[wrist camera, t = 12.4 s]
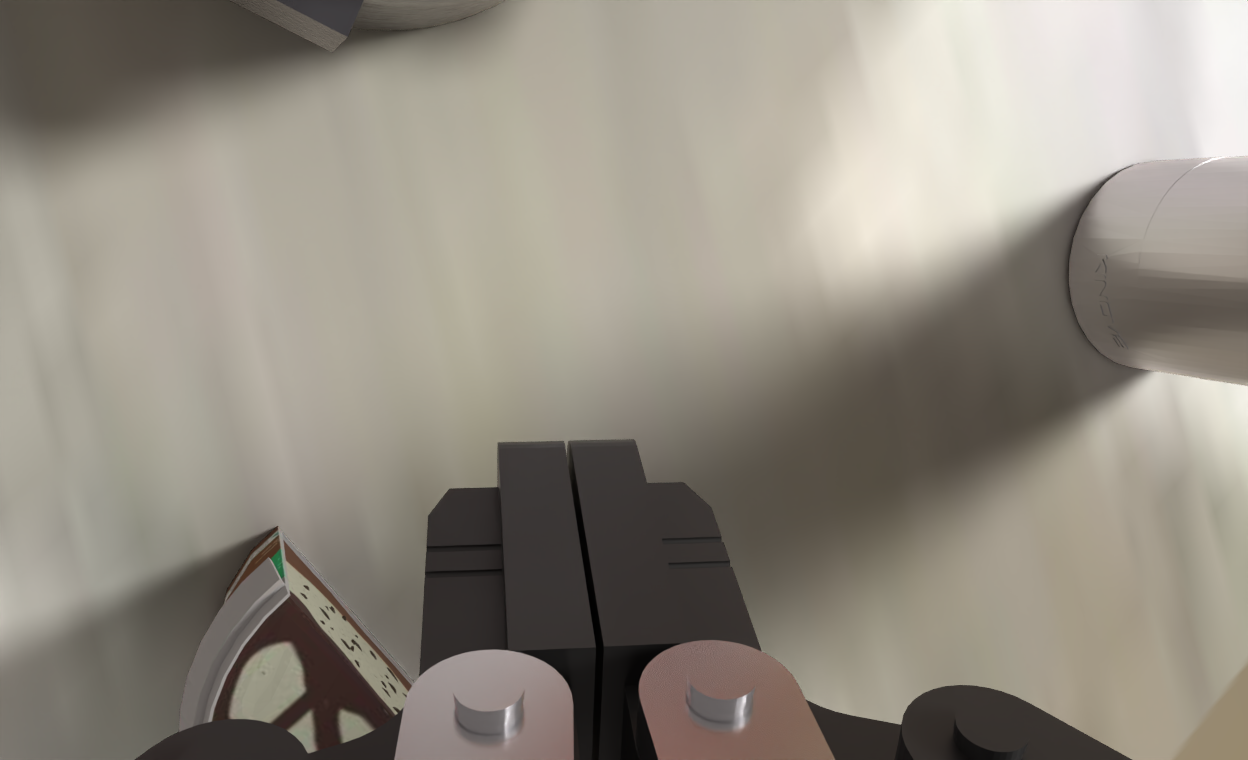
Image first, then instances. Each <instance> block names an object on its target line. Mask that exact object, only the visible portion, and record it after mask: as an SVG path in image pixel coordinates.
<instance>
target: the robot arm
mask: <svg viewBox="0 0 1248 760" xmlns="http://www.w3.org/2000/svg"><path fill="white" fill-rule="evenodd" d="M1069 287H1070V294H1071V300H1072V305H1073V308H1074V311H1075V314H1076V317H1077V320H1078V323H1079V325H1080V327H1081V328H1082V330H1083V332H1084V333H1085V335H1086V337H1087V339H1088V340H1089V341H1090V342H1091V343H1092V345H1093V346H1094V347H1095V348H1096V349H1097V350H1098V351H1099V352H1100V353H1101V354H1103V355H1104V356H1106V357H1107V358H1109V359H1110V360H1112V361H1114V362H1115V363H1118V364H1121V365H1125V366H1128V367H1131V368H1138V369H1144V370H1151V371H1157V372H1164V373H1170V374H1176V375H1183V376H1189V377H1196V378H1200V379H1206V380H1213V381H1219V382H1226V383H1232V384H1239V385H1245V386H1248V156H1237V157H1212V158H1195V159H1178V160H1160V161H1150V162H1144V163H1138V164H1135V165H1133V166H1131V167H1129V168H1126V169H1124V170H1122V171H1120V172H1119V173H1118V174H1116V175H1115V176H1114V177H1112V178H1111V179H1110V180H1108V181H1107V182H1106V183H1105V184H1104V185H1103V186H1102V187H1101V189H1100V190H1099V191H1098V192H1097V193H1096V194H1095V195H1094V197H1093V198H1092V199H1091V201H1090V203H1089V205H1088V206H1087V208H1086V210H1085V211H1084V213H1083V215H1082V217H1081V219H1080V222H1079V225H1078V227H1077V230H1076V233H1075V235H1074V238H1073V244H1072V249H1071V254H1070V259H1069ZM497 469H498V487H495V488H456V489H449V490H448V491H447V493H446V494H445V495H444V496H443V498H442V499H441V500H440V501H439V503H438V504H437V505H436V507H435V508H434V509H433V510H432V512H431V513H430V514H429V515H428V530H427V552H426V567H425V585H424V604H423V622H422V640H421V659H420V674H419V678H418V679H417V680H416V681H415V682H414V684H413V685H412V687H411V688H410V690H409V692H408V694H407V697H406V700H405V703H404V707H403V708H402V709H401V710H400V712H399V713H398V714H396V715H395V716H394V717H393V718H391V719H390V720H389V721H388V722H386V723H385V724H383V725H382V726H380V727H378V728H377V729H375V730H374V731H371V732H369V733H367V734H365V735H363V736H361V737H359V738H356V739H353V740H350V741H347V742H345V743H341V744H338V745H335V746H331V747H328V748H325V749H321V750H318V751H315V752H311V753H307V751H306V749H305V747H304V746H303V744H302V743H301V742H300V741H299V740H298V739H297V738H296V737H295V736H294V735H293V734H291V733H290V732H288V731H287V730H285V729H283V728H281V727H279V726H276V725H274V724H271V723H267V722H263V721H259V720H250V719H226V720H219V721H212V722H208V723H204V724H200V725H196V726H193V727H190V728H188V729H185V730H182V731H180V732H178V733H176V734H174V735H172V736H170V737H168V738H166V739H164V740H163V741H161V742H160V743H158V744H156V745H155V746H153V747H152V748H150V749H149V750H148V751H146V752H145V753H143V754H142V755H141V756H139V757H138V758H137V759H135V760H1132V759H1130V758H1128V757H1126V756H1124V755H1122V754H1121V753H1119V752H1117V751H1115V750H1113V749H1112V748H1110V747H1108V746H1106V745H1104V744H1102V743H1101V742H1099V741H1097V740H1095V739H1093V738H1092V737H1090V736H1088V735H1086V734H1084V733H1083V732H1081V731H1079V730H1077V729H1075V728H1073V727H1072V726H1070V725H1068V724H1066V723H1064V722H1063V721H1061V720H1059V719H1057V718H1055V717H1053V716H1052V715H1050V714H1048V713H1046V712H1044V711H1043V710H1041V709H1039V708H1037V707H1035V706H1033V705H1032V704H1030V703H1028V702H1026V701H1024V700H1022V699H1020V698H1018V697H1015V696H1013V695H1010V694H1007V693H1004V692H1002V691H998V690H994V689H990V688H985V687H979V686H969V685H955V686H945V687H941V688H937V689H933V690H931V691H928V692H926V693H923V694H922V695H920V696H919V697H917V698H916V699H915V700H914V701H913V702H912V703H911V704H910V705H909V706H908V707H907V709H906V711H905V713H904V715H903V720H902V725H899V724H894V723H888V722H883V721H878V720H872V719H867V718H862V717H856V716H851V715H847V714H843V713H838V712H835V711H832V710H829V709H826V708H823V707H820V706H818V705H816V704H814V703H812V702H810V701H807V700H806V699H805V697H804V695H803V693H802V691H801V689H800V687H799V685H798V683H797V682H796V680H795V678H794V677H793V675H792V674H791V673H790V672H789V671H788V670H787V669H786V668H785V666H783V665H782V664H781V663H779V662H778V661H777V660H776V659H774V658H773V657H771V656H769V655H767V654H766V653H764V652H762V651H761V648H760V645H759V642H758V640H757V637H756V634H755V631H754V628H753V625H752V623H751V620H750V617H749V614H748V611H747V608H746V605H745V603H744V600H743V597H742V594H741V591H740V588H739V586H738V583H737V580H736V577H735V574H734V571H733V568H732V567H730V560H729V557H728V554H727V551H726V549H725V546H724V543H723V542H721V534H720V531H719V529H718V526H717V523H716V520H715V517H714V514H713V511H712V509H711V507H710V506H709V505H708V504H707V503H706V502H705V501H703V500H702V499H701V498H700V497H699V496H698V495H697V494H696V493H695V492H693V491H692V490H691V489H690V488H689V487H688V486H687V485H686V484H685V483H683V482H678V483H647V482H646V478H645V475H644V471H643V467H642V463H641V460H640V456H639V452H638V448H637V445H636V442H635V440H634V439H627V440H579V441H569V442H568V446H567V457H566V450H565V444H564V441H543V442H498V452H497Z"/></svg>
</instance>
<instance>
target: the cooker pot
mask: <svg viewBox="0 0 1248 760" xmlns="http://www.w3.org/2000/svg"><path fill="white" fill-rule="evenodd" d="M229 1H231V2H233V3H235V4H237V5H239V6H241V7H243V8H245V9H247V10H249V11H251V12H253V13H255V14H257V15H259V16H261V17H263V18H265V19H267V20H269V21H271V22H273V23H275V24H277V25H279V26H281V27H283V28H285V29H287V30H289V31H291V32H293V33H295V34H297V35H299V36H301V37H302V38H304V39H306V40H308V41H310V42H312V43H314V44H316V45H318V46H320V47H322V48H324V49H326V50H328V51H330V52H333V51H334V50H335V49H336V48H337V47H338V46H339V45H340V44H341V43H342V42H343V41H344V40H345V39H346V38H347V37H348V35H349V33H350V31H351V28H355V29H361V30H391V31H399V30H408V29H418V28H427V27H434V26H438V25H442V24H446V23H450V22H454V21H458V20H462V19H465V18H467V17H470V16H472V15H475V14H477V13H480V12H482V11H485V10H487V9H489V8H492V7H494V6H496V5H498V4H499V3H501V2H503V1H504V0H229Z"/></svg>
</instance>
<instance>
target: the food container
mask: <svg viewBox="0 0 1248 760" xmlns="http://www.w3.org/2000/svg"><path fill="white" fill-rule="evenodd" d="M413 684H414V682H413V681H412V680H411V679H410V677H409V676H408V675H407V674H406V673H405V672H404V671H403V669H402V668H401V667H400V666H399V665H398V664H397V662H396V661H395V660H394V659H393V658H392V657H391V656H390V654H389V653H388V652H387V651H386V650H385V649H384V648H383V646H382V645H381V644H380V643H379V642H378V641H377V639H376V638H375V637H374V636H373V635H372V634H371V633H370V631H369V630H368V629H367V628H366V627H365V626H364V625H363V623H362V622H361V621H360V620H359V619H358V618H357V616H356V615H355V614H354V613H353V612H352V611H351V610H350V608H349V607H348V606H347V605H346V604H345V603H344V602H343V600H342V599H341V598H340V597H339V596H338V595H337V593H336V592H335V591H334V590H333V589H332V588H331V587H330V585H329V584H328V583H327V582H326V581H325V580H324V579H323V577H322V576H321V575H320V574H319V573H318V572H317V570H316V569H315V568H314V567H313V566H312V565H311V564H310V562H309V561H308V560H307V559H306V558H305V557H304V556H303V554H302V553H301V552H300V551H299V550H298V549H297V547H296V546H295V545H294V544H293V543H292V542H291V541H290V539H289V538H288V537H287V536H286V535H285V534H284V533H283V531H282V530H281V529H280V528H279V527H278V526H277V527H276V528H275V529H274V530H273V531H272V532H271V533H270V534H268V535H267V536H266V537H265V538H264V539H263V540H262V541H261V542H260V543H259V544H258V545H257V546H256V547H254V548H253V549H252V550H251V552H250V554H249V555H248V557H247V558H246V560H245V562H244V563H243V565H242V566H241V568H240V570H239V571H238V573H237V574H236V576H235V578H234V579H233V581H232V582H231V584H230V586H229V587H228V589H227V592H226V596H225V600H224V604H223V606H222V607H221V609H220V610H219V611H218V613H217V615H216V617H215V618H214V620H213V622H212V623H211V625H210V627H209V629H208V630H207V632H206V634H205V635H204V637H203V639H202V641H201V642H200V645H199V647H198V650H197V652H196V655H195V657H194V660H193V663H192V665H191V668H190V670H189V673H188V675H187V679H186V684H185V689H184V693H183V698H182V703H181V707H180V717H179V732H180V731H182V730H185V729H188V728H190V727H193V726H196V725H200V724H204V723H208V722H212V721H219V720H226V719H250V720H259V721H263V722H267V723H271V724H274V725H276V726H279V727H281V728H283V729H285V730H287V731H288V732H290V733H291V734H293V735H294V736H295V737H296V738H297V739H298V740H299V741H300V742H301V743H302V744H303V746H304V747H305V749H306V751H307V753H311V752H315V751H318V750H321V749H325V748H328V747H331V746H335V745H338V744H341V743H345V742H347V741H350V740H353V739H356V738H359V737H361V736H363V735H365V734H367V733H369V732H371V731H374V730H375V729H377V728H378V727H380V726H382V725H383V724H385V723H386V722H388V721H389V720H390V719H391V718H393V717H394V716H395V715H396V714H398V713H399V712H400V710H401V709H402V708H403V707H404V703H405V700H406V697H407V694H408V692H409V690H410V688H411V687H412V685H413Z"/></svg>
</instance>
